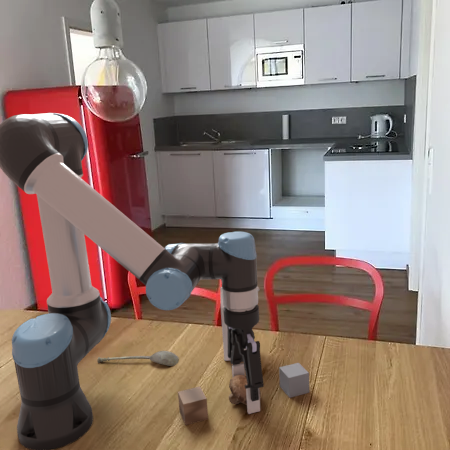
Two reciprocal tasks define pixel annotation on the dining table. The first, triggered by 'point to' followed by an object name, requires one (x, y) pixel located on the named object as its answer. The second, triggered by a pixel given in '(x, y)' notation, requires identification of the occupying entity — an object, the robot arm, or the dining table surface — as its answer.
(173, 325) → the dining table surface
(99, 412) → the dining table surface
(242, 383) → the mushroom
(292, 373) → the slate-grey block
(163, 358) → the soupspoon
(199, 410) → the walnut block
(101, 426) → the dining table surface
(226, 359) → the milk carton
